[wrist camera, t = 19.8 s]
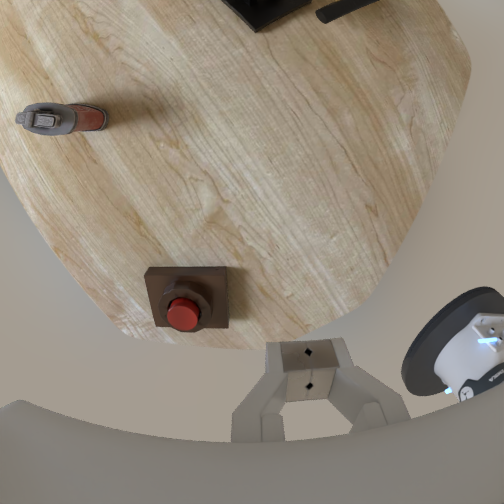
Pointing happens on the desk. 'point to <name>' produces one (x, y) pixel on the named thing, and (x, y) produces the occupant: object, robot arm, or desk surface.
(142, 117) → the desk surface
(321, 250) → the desk surface
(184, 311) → the light button
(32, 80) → the desk surface
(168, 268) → the button box
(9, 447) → the robot arm
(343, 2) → the switch lever
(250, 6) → the switch bracket
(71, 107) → the lighter
